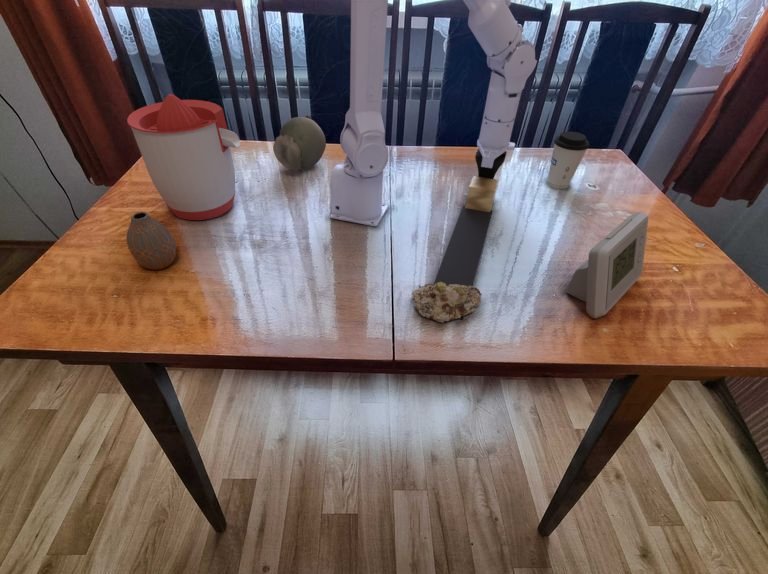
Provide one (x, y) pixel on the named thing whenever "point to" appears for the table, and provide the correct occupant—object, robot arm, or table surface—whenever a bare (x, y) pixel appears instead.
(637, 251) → the digital clock
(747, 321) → the table surface
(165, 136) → the citrus juicer
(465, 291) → the mineral rock
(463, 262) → the line stripe
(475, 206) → the maple block
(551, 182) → the coffee cup
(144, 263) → the vase
